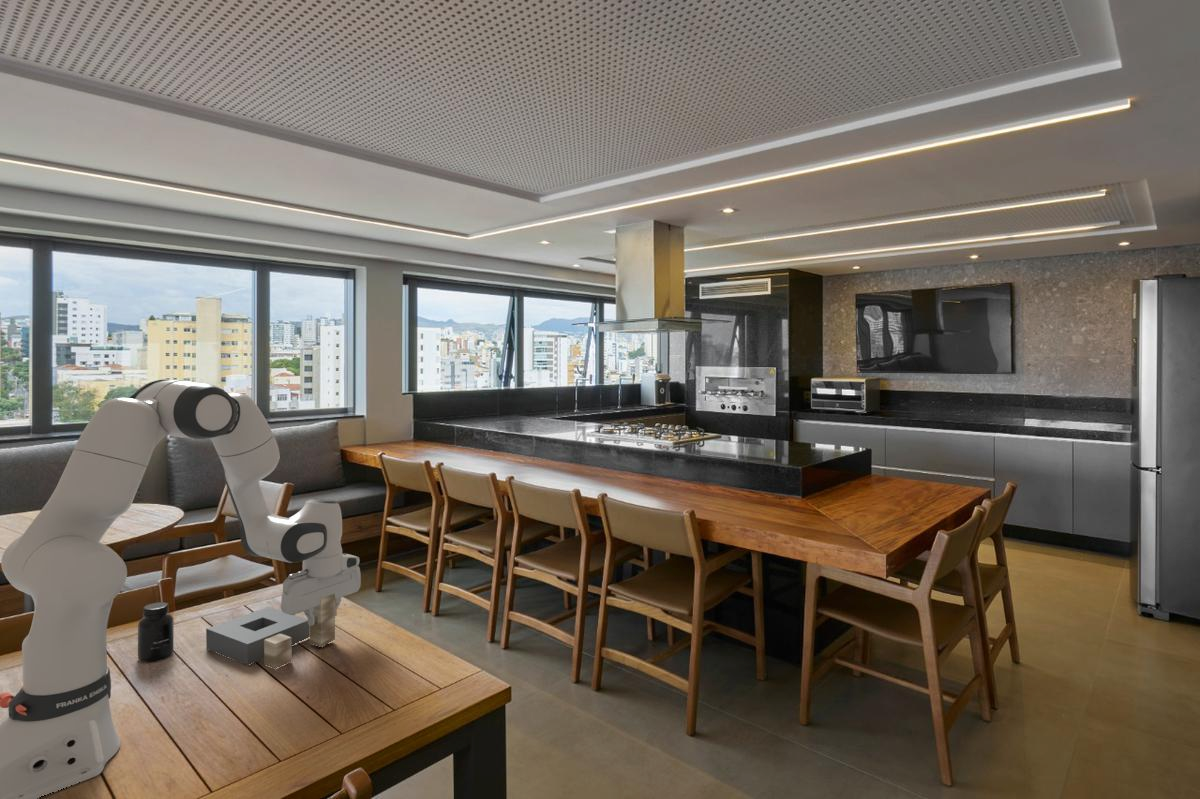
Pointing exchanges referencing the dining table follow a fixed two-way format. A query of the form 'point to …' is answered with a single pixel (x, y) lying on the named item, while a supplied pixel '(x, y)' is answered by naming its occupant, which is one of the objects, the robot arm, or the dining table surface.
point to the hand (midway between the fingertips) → (322, 620)
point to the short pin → (277, 650)
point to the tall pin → (324, 622)
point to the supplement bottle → (155, 633)
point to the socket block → (254, 633)
